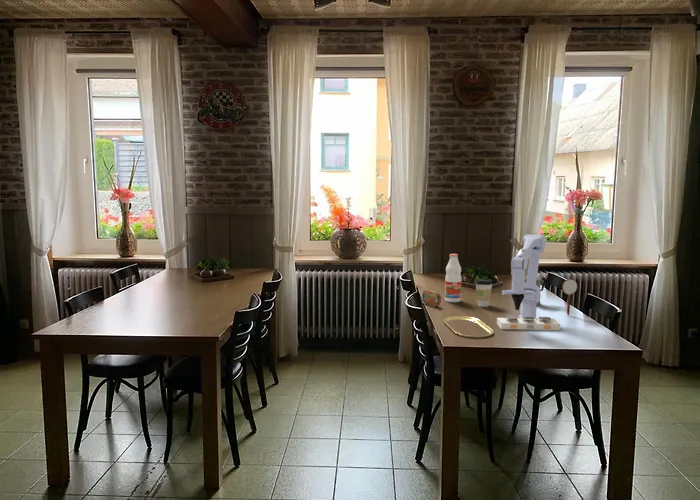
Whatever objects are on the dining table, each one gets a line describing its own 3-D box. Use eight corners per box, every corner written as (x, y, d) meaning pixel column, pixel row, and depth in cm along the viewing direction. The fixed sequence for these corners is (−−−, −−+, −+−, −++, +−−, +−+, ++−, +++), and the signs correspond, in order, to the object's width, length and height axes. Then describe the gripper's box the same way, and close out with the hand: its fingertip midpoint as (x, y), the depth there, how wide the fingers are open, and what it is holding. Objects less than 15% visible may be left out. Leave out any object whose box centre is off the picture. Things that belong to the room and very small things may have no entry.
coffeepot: (527, 306, 304) (528, 275, 302) (517, 303, 313) (518, 272, 311) (550, 304, 309) (551, 274, 306) (539, 301, 318) (541, 271, 315)
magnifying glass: (561, 316, 283) (563, 279, 280) (559, 315, 285) (561, 278, 282) (576, 315, 284) (578, 278, 281) (574, 315, 286) (577, 278, 283)
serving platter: (474, 318, 280) (474, 315, 280) (499, 338, 246) (499, 335, 246) (439, 319, 278) (439, 316, 278) (459, 339, 244) (459, 336, 244)
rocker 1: (506, 316, 267) (506, 314, 266) (514, 316, 266) (514, 314, 266) (508, 320, 261) (508, 318, 261) (517, 320, 260) (517, 318, 260)
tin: (421, 302, 314) (421, 288, 313) (426, 302, 316) (426, 288, 314) (437, 308, 301) (437, 293, 300) (441, 307, 302) (442, 293, 301)
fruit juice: (459, 299, 323) (460, 253, 319) (461, 302, 314) (463, 255, 310) (443, 298, 324) (445, 253, 320) (445, 302, 315) (446, 255, 311)
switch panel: (496, 323, 269) (497, 315, 269) (553, 324, 268) (554, 316, 267) (501, 329, 259) (501, 321, 259) (560, 330, 258) (560, 322, 257)
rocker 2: (522, 318, 266) (522, 316, 266) (530, 318, 266) (530, 316, 266) (525, 319, 260) (525, 316, 260) (533, 319, 260) (533, 317, 260)
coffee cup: (474, 303, 313) (475, 278, 311) (491, 304, 311) (492, 278, 309) (474, 307, 303) (475, 281, 301) (492, 308, 301) (493, 281, 299)
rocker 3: (538, 318, 265) (538, 316, 266) (547, 318, 265) (547, 316, 265) (542, 319, 260) (542, 317, 260) (550, 319, 259) (550, 317, 259)
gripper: (504, 283, 255) (503, 311, 257) (535, 283, 254) (534, 311, 255) (501, 280, 262) (500, 307, 264) (531, 280, 261) (530, 308, 262)
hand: (517, 309), depth 260 cm, fingers closed
